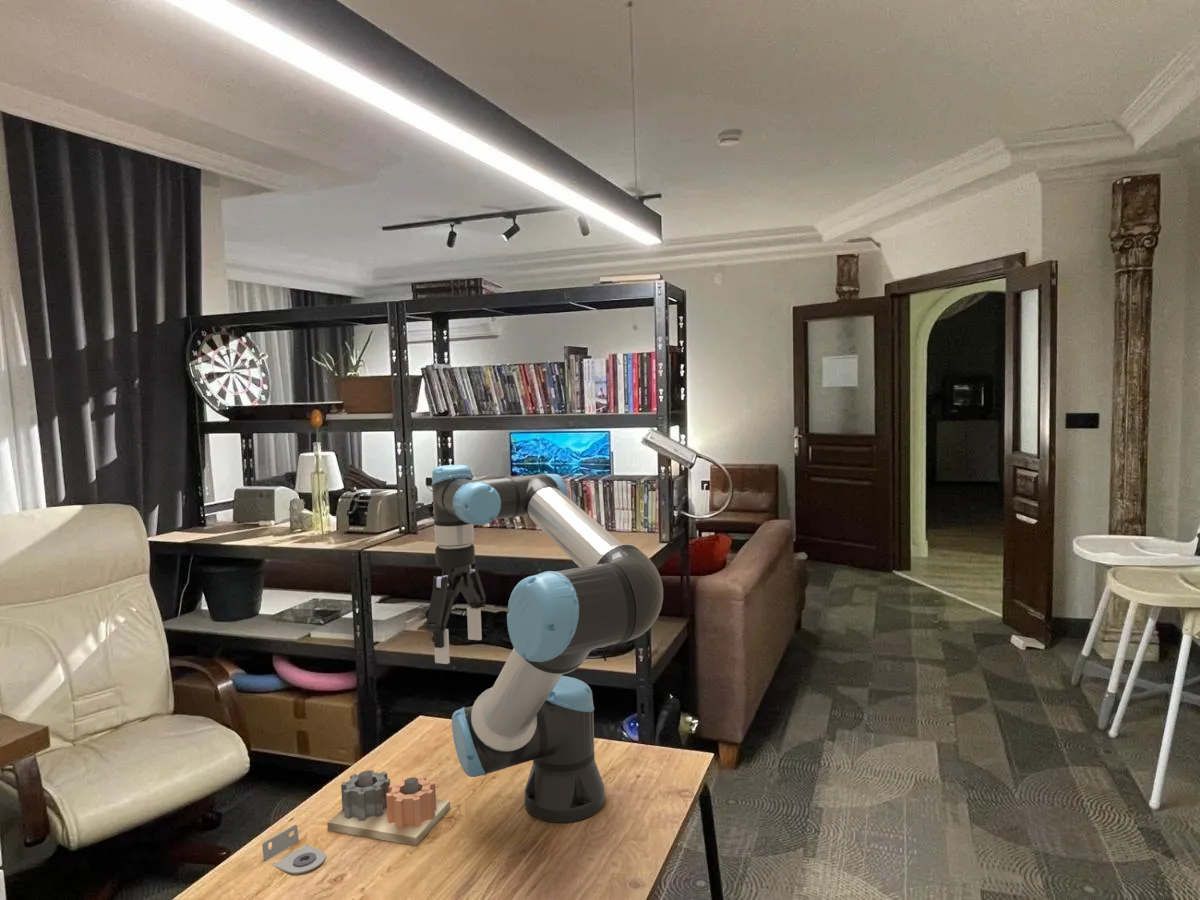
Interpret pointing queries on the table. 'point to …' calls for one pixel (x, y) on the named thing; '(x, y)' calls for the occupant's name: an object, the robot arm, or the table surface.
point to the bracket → (293, 853)
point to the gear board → (378, 810)
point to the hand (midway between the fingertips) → (459, 650)
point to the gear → (411, 803)
